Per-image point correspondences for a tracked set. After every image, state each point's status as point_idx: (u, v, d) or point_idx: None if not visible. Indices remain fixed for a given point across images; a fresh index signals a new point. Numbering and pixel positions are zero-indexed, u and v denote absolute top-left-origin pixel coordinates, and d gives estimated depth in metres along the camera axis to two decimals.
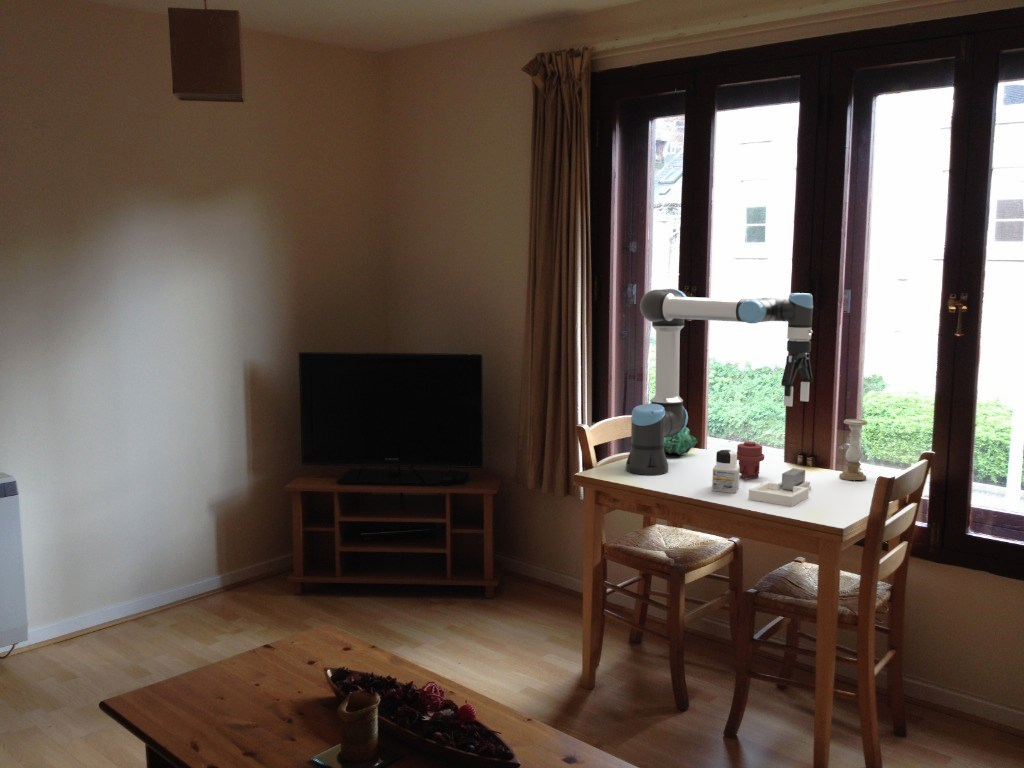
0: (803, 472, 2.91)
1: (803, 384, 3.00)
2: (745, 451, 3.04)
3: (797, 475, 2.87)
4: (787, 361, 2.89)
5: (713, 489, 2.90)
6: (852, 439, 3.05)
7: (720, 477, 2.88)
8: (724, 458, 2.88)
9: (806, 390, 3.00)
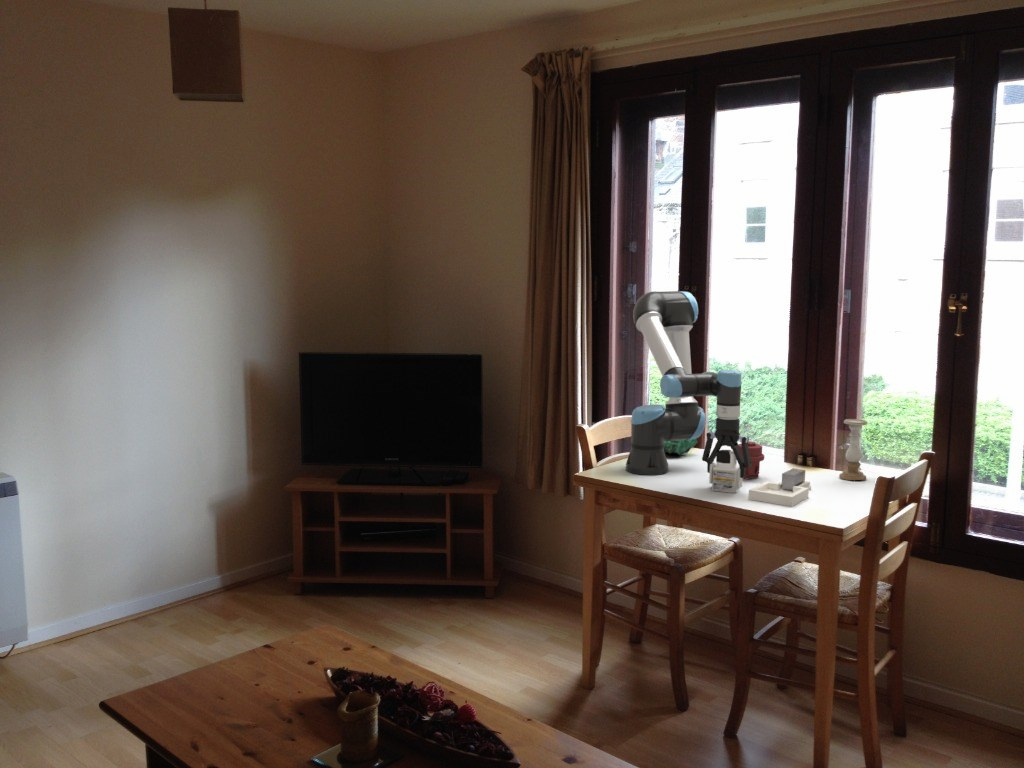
0: (803, 472, 2.91)
1: None
2: None
3: (797, 475, 2.87)
4: None
5: (713, 489, 2.90)
6: (852, 439, 3.05)
7: (720, 477, 2.88)
8: (724, 458, 2.88)
9: None
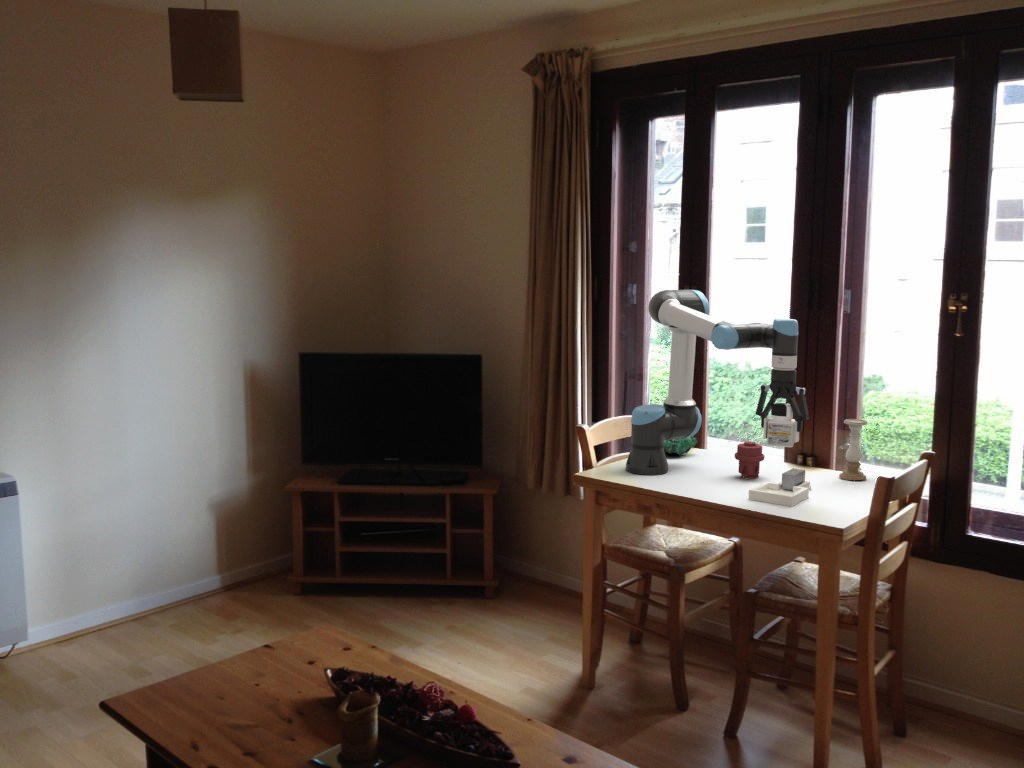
0: (803, 472, 2.91)
1: None
2: (745, 451, 3.04)
3: (797, 475, 2.87)
4: None
5: (768, 444, 2.76)
6: (852, 439, 3.05)
7: (775, 431, 2.75)
8: (780, 411, 2.74)
9: None
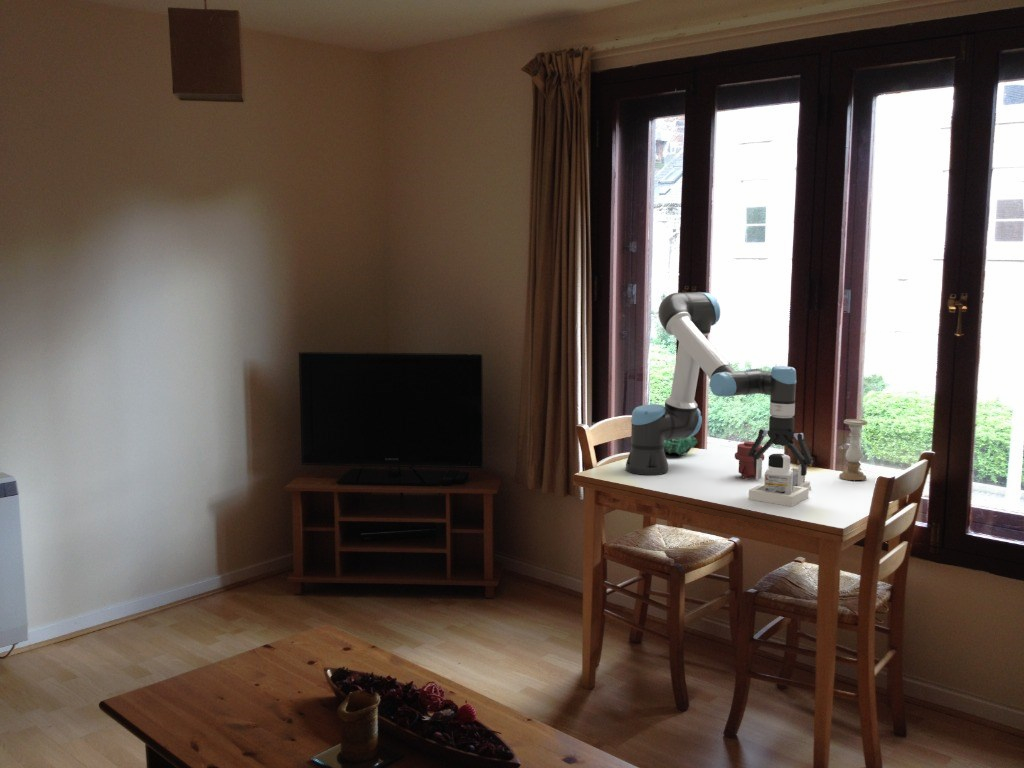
0: None
1: None
2: (745, 451, 3.04)
3: (797, 475, 2.87)
4: None
5: None
6: (852, 439, 3.05)
7: (772, 482, 2.78)
8: (777, 462, 2.77)
9: None
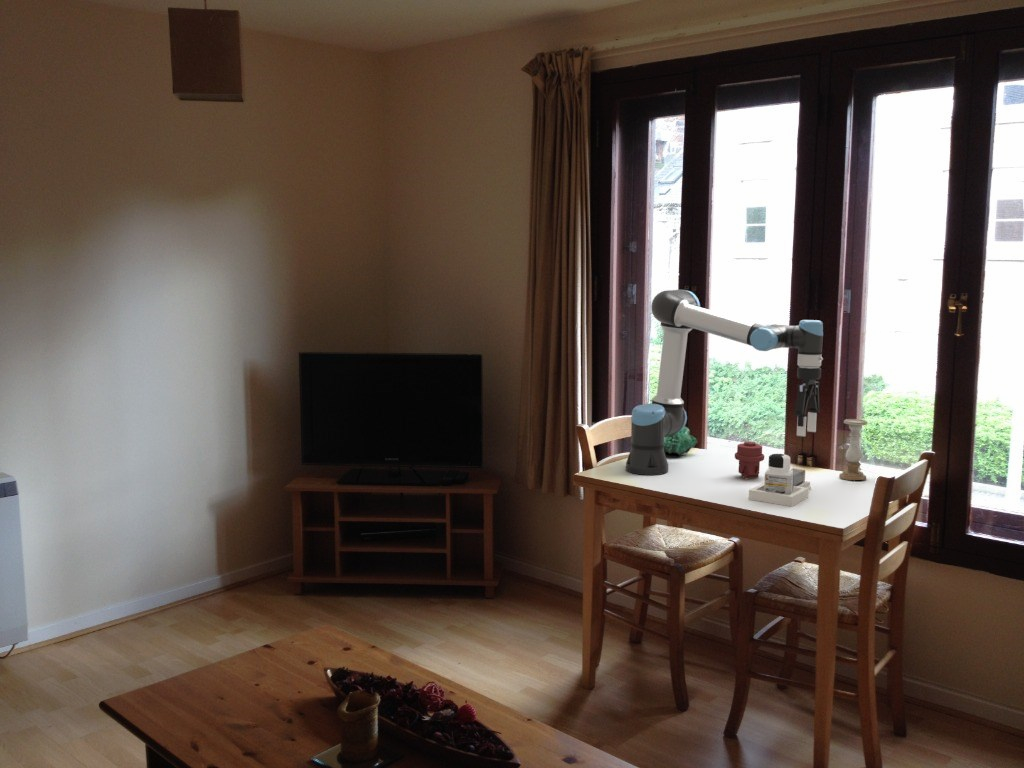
0: (803, 472, 2.91)
1: (810, 415, 2.99)
2: (745, 451, 3.04)
3: (797, 475, 2.87)
4: (798, 391, 2.90)
5: None
6: (852, 439, 3.05)
7: (772, 482, 2.78)
8: (777, 462, 2.77)
9: (813, 421, 2.99)
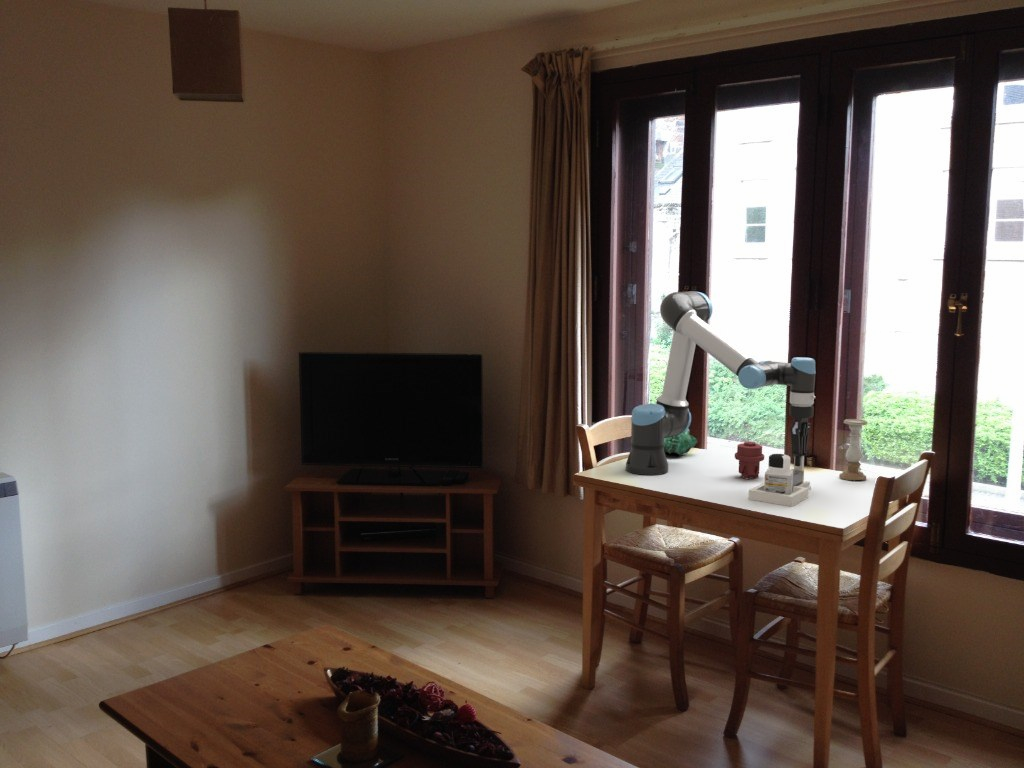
0: (802, 473, 2.91)
1: None
2: (745, 451, 3.04)
3: (796, 476, 2.86)
4: (792, 433, 2.88)
5: None
6: (852, 439, 3.05)
7: (772, 482, 2.78)
8: (777, 462, 2.77)
9: None
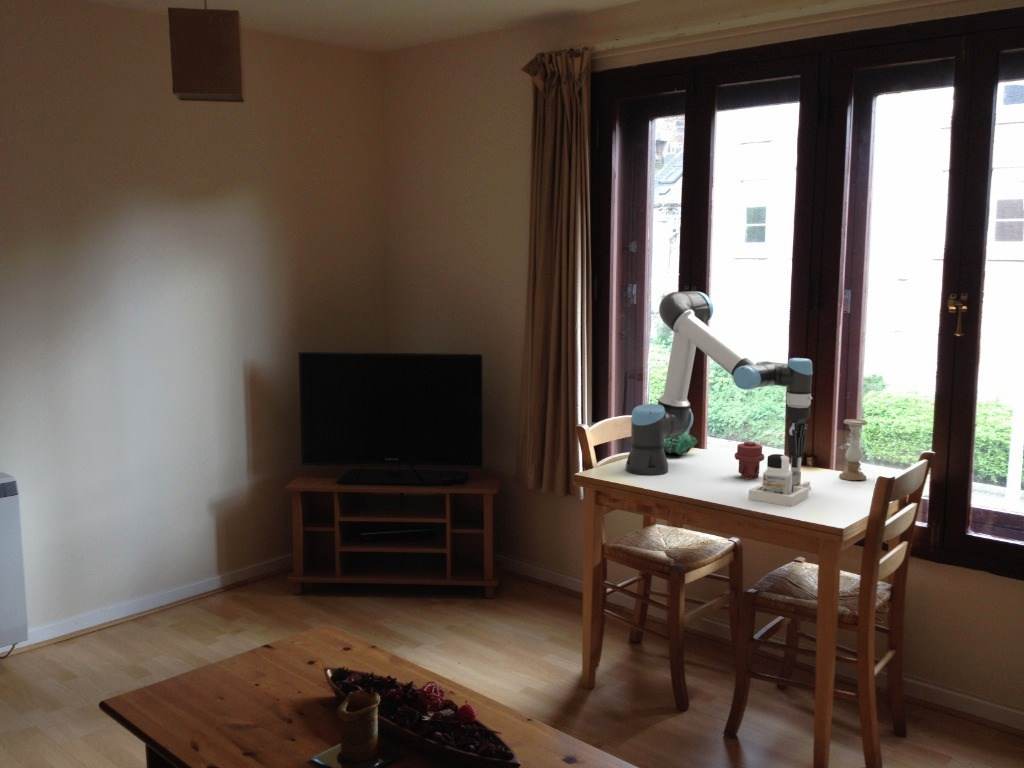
0: (799, 474, 2.88)
1: None
2: (745, 451, 3.04)
3: (792, 477, 2.84)
4: (788, 435, 2.86)
5: None
6: (852, 439, 3.05)
7: (770, 483, 2.77)
8: (775, 463, 2.76)
9: None
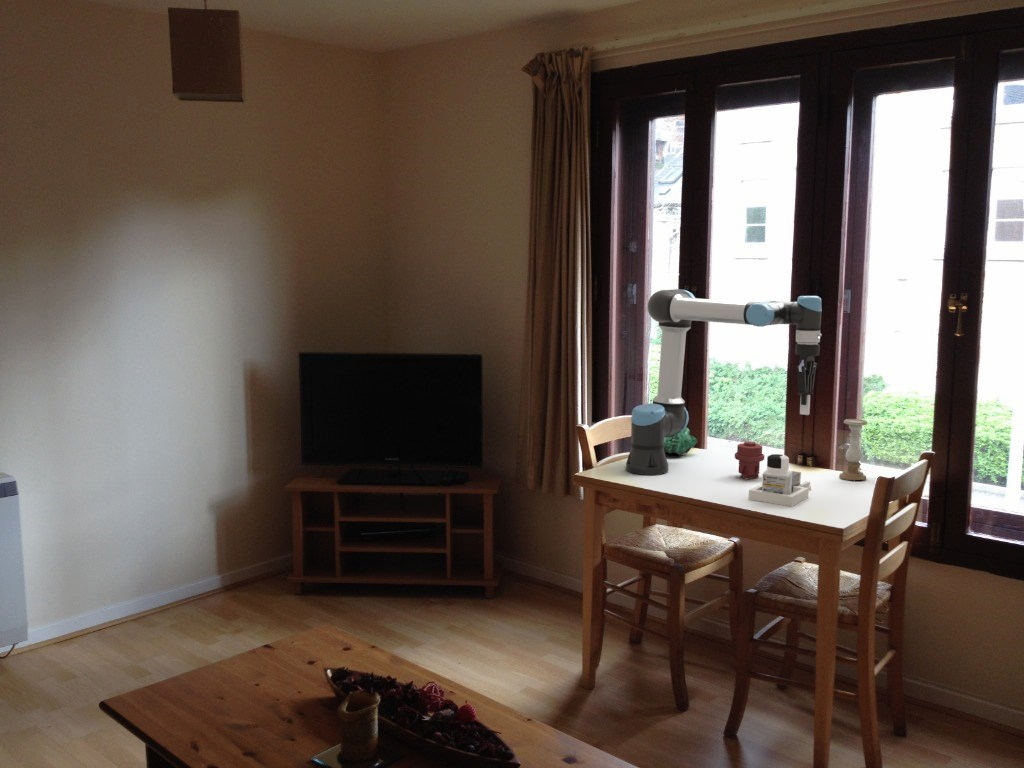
0: (798, 474, 2.88)
1: None
2: (745, 451, 3.04)
3: (792, 477, 2.84)
4: (798, 371, 2.88)
5: None
6: (852, 439, 3.05)
7: (770, 483, 2.77)
8: (775, 463, 2.76)
9: None
